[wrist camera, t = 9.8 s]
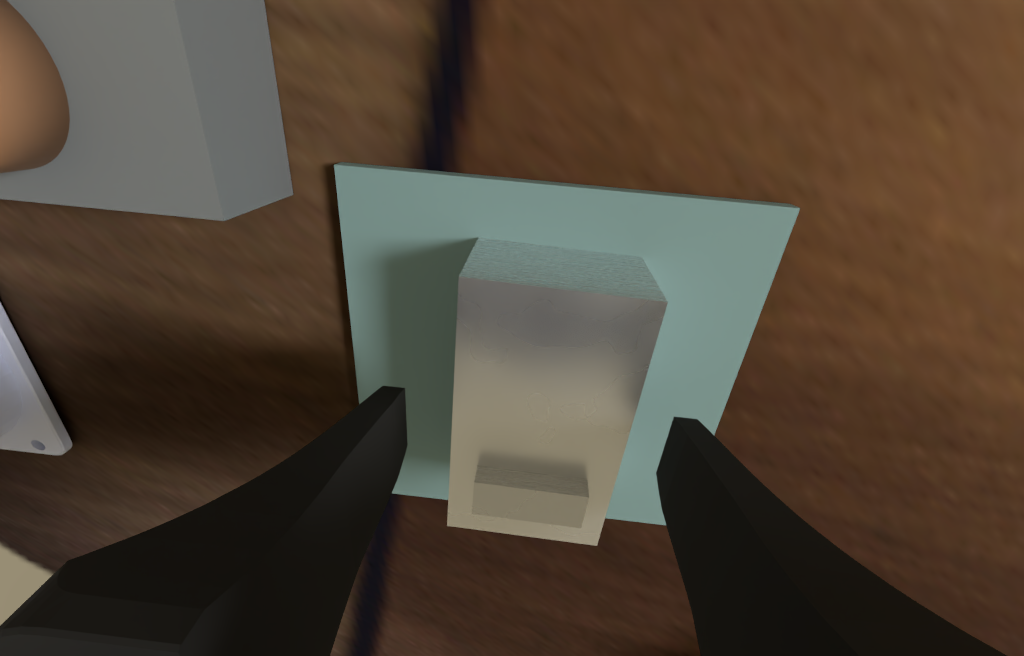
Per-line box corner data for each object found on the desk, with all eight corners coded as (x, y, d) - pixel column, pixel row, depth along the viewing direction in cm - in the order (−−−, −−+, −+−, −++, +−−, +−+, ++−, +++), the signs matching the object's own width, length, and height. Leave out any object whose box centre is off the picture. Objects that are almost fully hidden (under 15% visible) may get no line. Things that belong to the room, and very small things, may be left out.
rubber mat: (372, 480, 18) (368, 490, 17) (342, 162, 12) (334, 164, 12) (676, 515, 17) (679, 526, 17) (790, 203, 12) (800, 208, 11)
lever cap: (464, 453, 16) (443, 543, 13) (478, 237, 12) (452, 287, 9) (588, 470, 16) (599, 564, 13) (642, 257, 12) (674, 314, 9)
